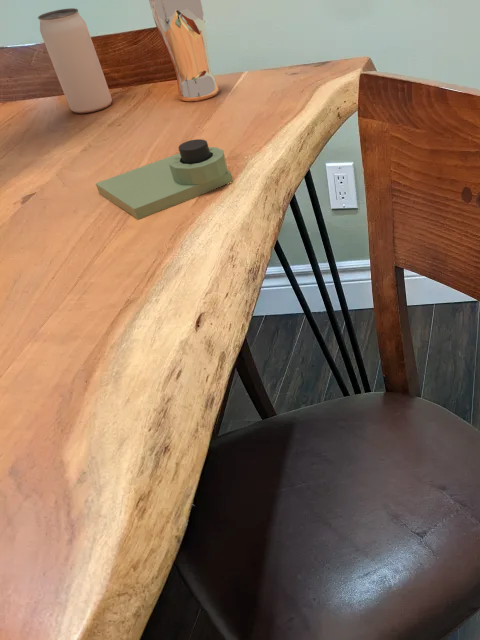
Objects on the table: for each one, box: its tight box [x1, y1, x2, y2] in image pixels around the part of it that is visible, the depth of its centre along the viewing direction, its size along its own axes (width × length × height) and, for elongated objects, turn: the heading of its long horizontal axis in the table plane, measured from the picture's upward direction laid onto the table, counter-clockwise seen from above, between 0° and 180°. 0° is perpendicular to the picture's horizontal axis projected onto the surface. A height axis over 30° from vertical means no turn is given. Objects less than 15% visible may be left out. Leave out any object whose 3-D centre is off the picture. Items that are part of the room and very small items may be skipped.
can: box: [37, 7, 113, 115], centre depth 102 cm, size 6×6×12 cm
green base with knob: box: [95, 146, 234, 220], centre depth 79 cm, size 13×12×3 cm
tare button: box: [178, 138, 211, 164], centre depth 77 cm, size 3×3×2 cm
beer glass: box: [148, 0, 220, 103], centre depth 99 cm, size 7×7×15 cm
